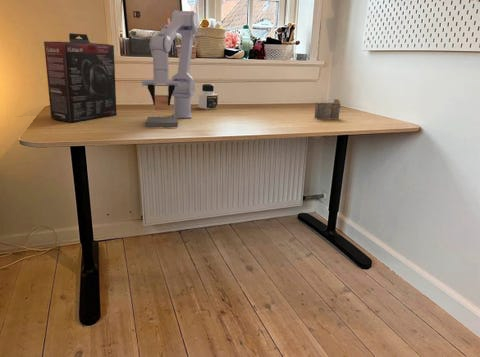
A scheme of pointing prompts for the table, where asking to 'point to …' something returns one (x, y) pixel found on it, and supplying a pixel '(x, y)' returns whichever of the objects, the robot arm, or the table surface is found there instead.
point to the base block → (161, 122)
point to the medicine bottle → (208, 97)
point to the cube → (161, 102)
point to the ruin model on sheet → (327, 109)
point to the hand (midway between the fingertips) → (161, 104)
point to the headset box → (80, 79)
